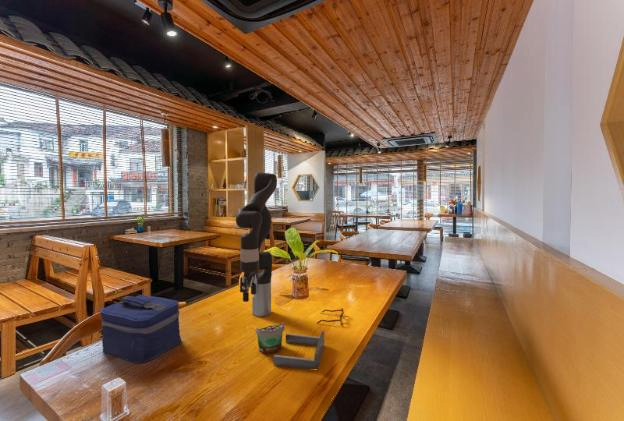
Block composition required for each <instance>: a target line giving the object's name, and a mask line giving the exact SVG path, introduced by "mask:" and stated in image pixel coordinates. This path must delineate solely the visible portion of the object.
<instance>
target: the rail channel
mask: <svg viewBox="0 0 624 421" xmlns="http://www.w3.org/2000/svg"><path fill="white" fill-rule="evenodd" d="M285 343H286V344H293V343H296V344H295V345H302V344H306V345H305V346H311V345H316V346H315V347H316V349H315V352H314V356H313V358H305V357H297V356H289V355H281V354H273V366H279V367H286V368H293V369H302V370H308V369H318V370H319V366H320V364H321V360H320V359H322V355H323V352H324V348H325V331H321V332H320V335H319V336H314V335H304V334H303V335H302V334H295V333H292V334H291V333H286V334H285ZM319 363H320V364H319Z"/></svg>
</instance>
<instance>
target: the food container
mask: <svg viewBox="0 0 624 421" xmlns="http://www.w3.org/2000/svg"><path fill="white" fill-rule="evenodd" d="M285 330H286V329H285V324H284V322H281V323H280V324H274V325H269V326H265V327H262V328H258V327H256V329H255V332H254V333H255V334H256V336H257V345H258V351H259V353H261V354H263V355H267V356H269V355H276V354H278V353H279V352H280V351H281V350H282V343H283V336H284V335H283V333H284V331H285Z"/></svg>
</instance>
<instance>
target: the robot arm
mask: <svg viewBox="0 0 624 421" xmlns="http://www.w3.org/2000/svg"><path fill="white" fill-rule="evenodd" d="M253 179H254V180H253V188H254V189H253V192H254V194H253V195H251V197H250V199H249V201H248V202H247V204H246V205H244V206H243V207H242V208H241V209H240V210H239V211H238V212H237V214H236V216H235V224H236V226H237V227H238V228H240V229H251V231H250V232H249V233H244V234H242V235H241V236H240V254H239V255H240V256H239V257H240V259H239V260H240V261H239V264H240V265H239V266H240V268H239V270H240V272H242V273H244V274H243V276H241V277H239V292H240V293H242V302H243V303H248V302H249V301H250V298H249V296H250V294H251V295H253V296H252V298H251V299H252V300H251V303H252V306H251V308H252V309H251V310H252V314H251V315H253V316H255V317H261V318H262V317H267V316H270V315H271V313H272V276H273V256H272V253H271V252H270V251H261V247H262V244H263V243H264V241H265V239H266V238H267V237H268V235H269V233H270V232H271V229H272V215H271V212H270V210H269V209H268V206H267V205H266V203H267V201H269V199H270V198H271V197H272V195H273V194H274V192H275V191H276V190H277V186H278V176H277V175H276V174H275V173H270V172H269V173H268V172H256V173H255V175H254V178H253ZM261 270H262V271H261ZM259 271H261V272H259ZM249 292H250V293H249Z"/></svg>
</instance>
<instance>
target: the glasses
mask: <svg viewBox="0 0 624 421" xmlns="http://www.w3.org/2000/svg"><path fill="white" fill-rule="evenodd" d="M321 312H323V313H324V312H330V313H332V312H333V313H334V312H341V314H339V319H331V320H329V319H328V320H326V319H320V320H319V321H317V322H316V323H318V324H319V323H322V322H327V323H333V322H340V326H343V324H342V321H343V314H344V315H345V313H344V309H343V308H341V309H333V310H331V309H324V310H322V311H321Z"/></svg>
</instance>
